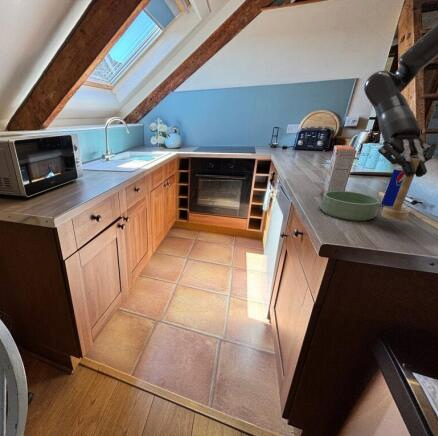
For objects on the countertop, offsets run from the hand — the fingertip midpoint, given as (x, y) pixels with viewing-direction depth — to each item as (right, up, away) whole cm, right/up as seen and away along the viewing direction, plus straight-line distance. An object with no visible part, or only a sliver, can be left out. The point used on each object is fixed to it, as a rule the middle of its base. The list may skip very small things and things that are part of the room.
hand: (416, 175), depth 66 cm
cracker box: (+5, -3, +37) cm, 38 cm away
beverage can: (+19, -7, +26) cm, 33 cm away
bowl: (-2, -10, +21) cm, 23 cm away
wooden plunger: (+1, -11, +7) cm, 13 cm away
